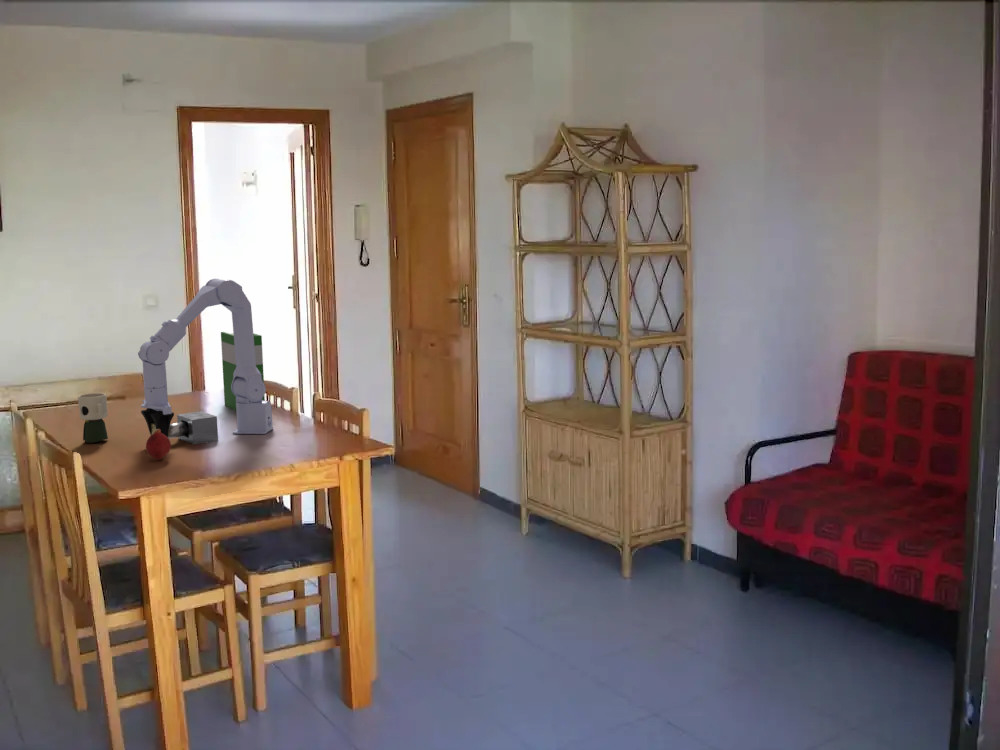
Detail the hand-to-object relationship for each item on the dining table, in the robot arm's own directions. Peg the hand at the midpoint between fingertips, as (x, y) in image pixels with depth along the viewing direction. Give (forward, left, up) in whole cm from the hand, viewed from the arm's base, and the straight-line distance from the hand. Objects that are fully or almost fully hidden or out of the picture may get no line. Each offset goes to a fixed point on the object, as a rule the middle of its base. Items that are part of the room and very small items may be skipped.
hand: (159, 437), depth 261 cm
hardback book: (-5, -53, -3) cm, 53 cm away
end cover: (-2, -2, -1) cm, 3 cm away
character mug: (+20, -4, -3) cm, 20 cm away
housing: (-8, -8, -2) cm, 11 cm away
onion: (-7, +15, -3) cm, 17 cm away
